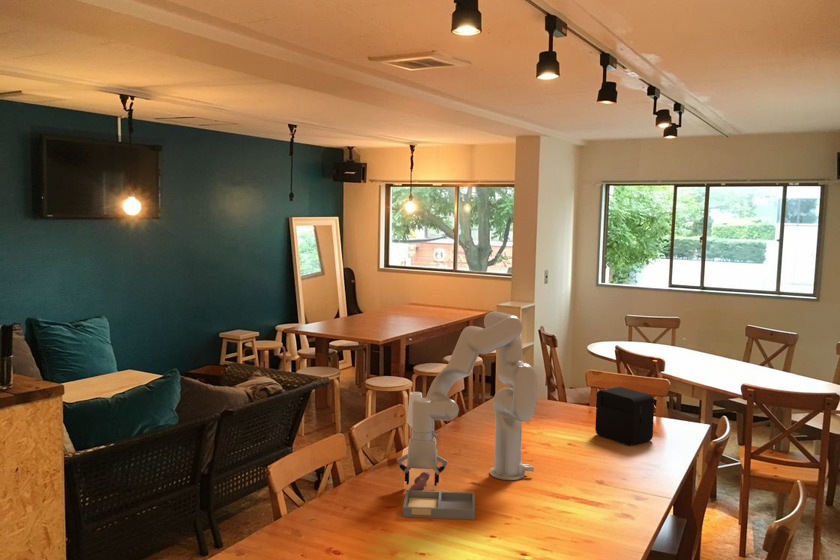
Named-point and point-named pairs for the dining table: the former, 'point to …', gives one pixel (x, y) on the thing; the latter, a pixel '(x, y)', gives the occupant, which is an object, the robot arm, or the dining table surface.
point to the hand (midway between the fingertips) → (421, 484)
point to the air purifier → (624, 415)
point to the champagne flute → (411, 398)
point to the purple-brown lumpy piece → (420, 481)
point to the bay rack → (439, 504)
